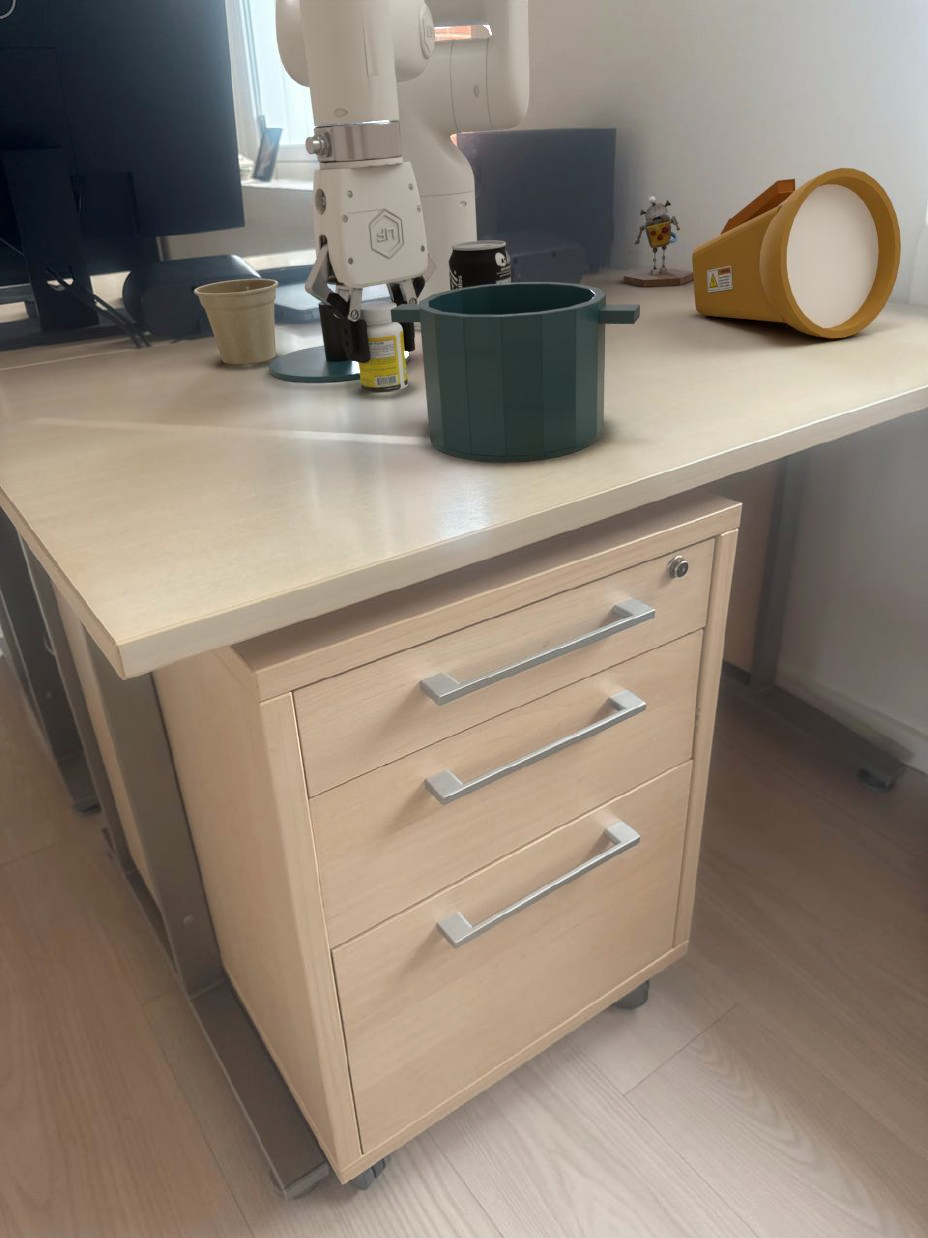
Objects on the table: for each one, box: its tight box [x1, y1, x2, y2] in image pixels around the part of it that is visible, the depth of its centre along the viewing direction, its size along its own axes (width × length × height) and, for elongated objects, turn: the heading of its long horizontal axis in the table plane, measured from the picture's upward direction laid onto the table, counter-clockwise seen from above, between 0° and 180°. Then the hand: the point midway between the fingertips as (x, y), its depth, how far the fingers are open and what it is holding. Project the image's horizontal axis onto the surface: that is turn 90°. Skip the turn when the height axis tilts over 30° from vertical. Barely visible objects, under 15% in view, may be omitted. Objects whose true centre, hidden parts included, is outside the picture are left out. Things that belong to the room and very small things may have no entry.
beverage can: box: [449, 239, 512, 290], centre depth 96 cm, size 7×7×12 cm
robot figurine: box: [623, 195, 694, 288], centre depth 133 cm, size 11×9×12 cm
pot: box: [391, 281, 641, 463], centre depth 72 cm, size 15×20×11 cm
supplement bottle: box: [358, 300, 409, 393], centre depth 87 cm, size 5×5×8 cm
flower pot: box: [193, 278, 279, 365], centre depth 102 cm, size 9×9×9 cm
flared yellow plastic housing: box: [691, 167, 902, 339], centre depth 102 cm, size 20×17×18 cm
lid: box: [268, 301, 410, 383], centre depth 97 cm, size 16×16×7 cm
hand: (381, 353), depth 87 cm, fingers closed on supplement bottle, 4 cm apart
